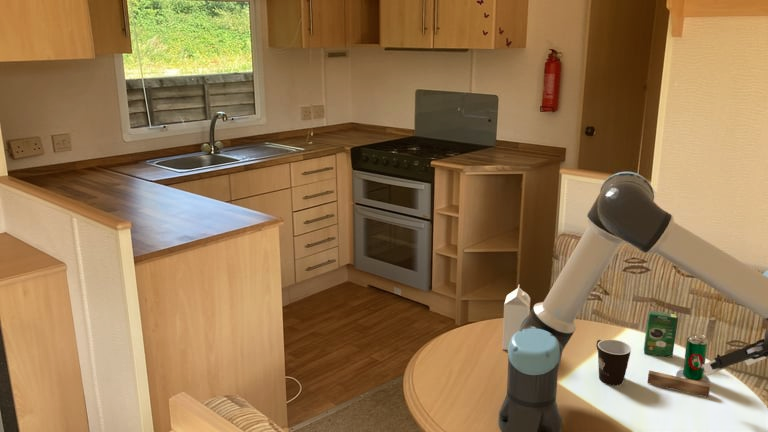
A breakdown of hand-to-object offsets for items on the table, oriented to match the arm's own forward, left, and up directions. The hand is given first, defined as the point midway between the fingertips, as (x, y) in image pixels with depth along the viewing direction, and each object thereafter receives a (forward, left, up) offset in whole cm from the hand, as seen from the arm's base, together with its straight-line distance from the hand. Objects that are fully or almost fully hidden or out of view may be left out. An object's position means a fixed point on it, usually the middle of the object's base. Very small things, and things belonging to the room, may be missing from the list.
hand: (725, 365), depth 165 cm
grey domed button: (-7, +6, -9) cm, 13 cm away
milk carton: (-56, +2, -10) cm, 57 cm away
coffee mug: (-27, -3, -10) cm, 29 cm away
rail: (-10, -1, -9) cm, 14 cm away
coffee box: (-17, +17, -10) cm, 26 cm away
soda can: (-7, +6, -9) cm, 13 cm away
